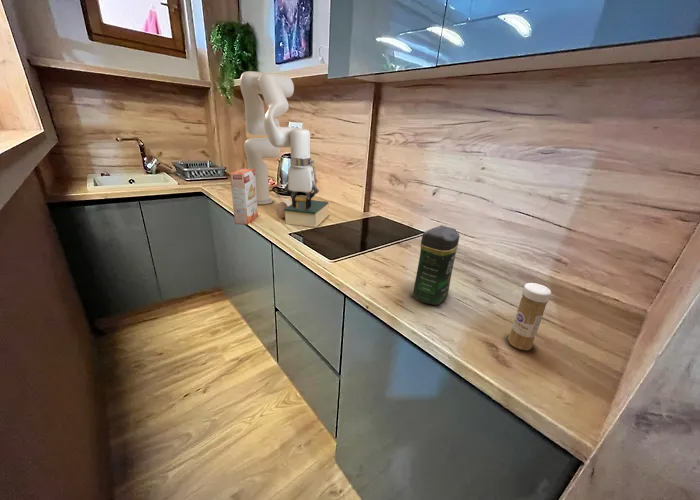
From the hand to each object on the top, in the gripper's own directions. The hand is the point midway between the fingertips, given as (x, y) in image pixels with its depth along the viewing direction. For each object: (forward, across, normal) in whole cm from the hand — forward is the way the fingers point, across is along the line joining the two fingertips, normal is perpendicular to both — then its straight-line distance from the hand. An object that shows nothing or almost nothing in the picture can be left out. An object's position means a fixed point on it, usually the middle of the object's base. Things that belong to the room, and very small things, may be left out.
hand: (301, 207), depth 126 cm
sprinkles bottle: (+8, -71, +58) cm, 92 cm away
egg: (+8, +11, -5) cm, 14 cm away
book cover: (+2, 0, -7) cm, 7 cm away
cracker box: (+8, +24, +3) cm, 25 cm away
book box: (+7, 0, -7) cm, 10 cm away
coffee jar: (+8, -53, +44) cm, 69 cm away
